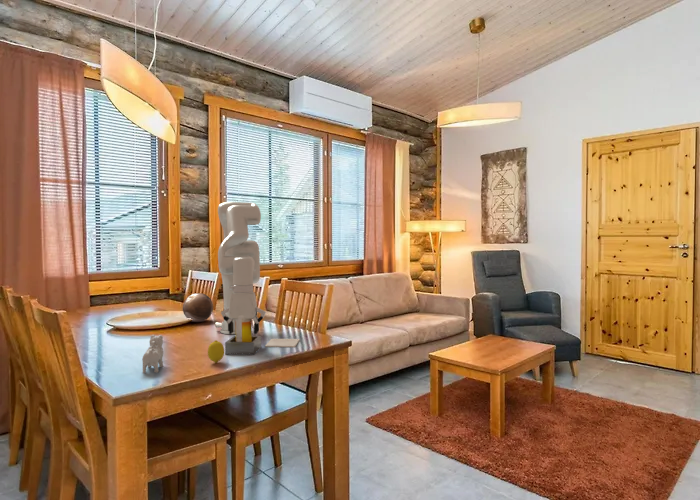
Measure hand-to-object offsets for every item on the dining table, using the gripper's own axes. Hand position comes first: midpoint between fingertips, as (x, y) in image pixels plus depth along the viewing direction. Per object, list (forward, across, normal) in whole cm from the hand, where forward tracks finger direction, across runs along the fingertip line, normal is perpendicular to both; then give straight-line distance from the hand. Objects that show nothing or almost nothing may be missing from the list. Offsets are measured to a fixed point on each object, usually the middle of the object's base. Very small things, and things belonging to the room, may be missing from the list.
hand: (243, 333), depth 173 cm
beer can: (+7, 0, 0) cm, 7 cm away
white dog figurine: (+7, -24, -24) cm, 35 cm away
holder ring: (+7, 0, 0) cm, 7 cm away
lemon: (+7, -5, -17) cm, 19 cm away
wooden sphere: (+7, -40, +57) cm, 70 cm away
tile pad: (+7, +13, +12) cm, 19 cm away
